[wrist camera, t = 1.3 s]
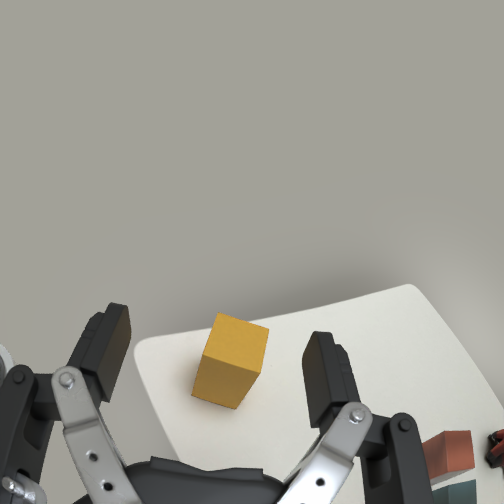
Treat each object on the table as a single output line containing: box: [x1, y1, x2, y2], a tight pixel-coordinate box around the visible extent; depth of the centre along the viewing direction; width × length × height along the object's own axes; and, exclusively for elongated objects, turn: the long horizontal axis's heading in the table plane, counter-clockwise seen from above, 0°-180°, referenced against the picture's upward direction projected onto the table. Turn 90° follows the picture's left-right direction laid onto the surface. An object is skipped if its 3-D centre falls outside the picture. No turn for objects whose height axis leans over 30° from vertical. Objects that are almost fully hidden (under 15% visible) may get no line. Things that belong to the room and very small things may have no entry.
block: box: [192, 312, 269, 409], centre depth 27 cm, size 5×5×9 cm
